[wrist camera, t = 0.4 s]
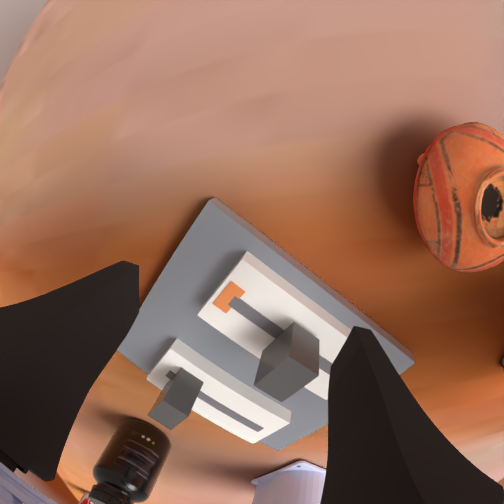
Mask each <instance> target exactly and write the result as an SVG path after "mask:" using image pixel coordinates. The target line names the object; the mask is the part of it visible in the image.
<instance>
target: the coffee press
mask: <svg viewBox="0 0 504 504" xmlns="http://www.w3.org/2000/svg"><path fill="white" fill-rule="evenodd" d="M501 367H502V369H503V371H504V356H503V358H502V359H501Z"/></svg>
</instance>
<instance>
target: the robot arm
mask: <svg viewBox="0 0 504 504" xmlns="http://www.w3.org/2000/svg"><path fill="white" fill-rule="evenodd" d="M138 314H139V266H138V265H135V264H132V263H129V262H126V261H121V262H118V263H116V264H113V265H111V266H109V267H106V268H104V269H102V270H100V271H97V272H95V273H93V274H91V275H89V276H86V277H84V278H82V279H80V280H77V281H75V282H73V283H71V284H68V285H66V286H63V287H61V288H59V289H56V290H54V291H51V292H49V293H47V294H44V295H41V296H39V297H36V298H33V299H30V300H27V301H24V302H20V303H17V304H14V305H10V306H5V307H1V308H0V504H23V503H24V504H57V503H56V502H54V501H52V500H51V499H49V498H48V497H46V496H45V495H43V494H42V493H40V492H39V491H37V490H36V489H35V488H33V487H32V486H30V485H29V484H28V483H26V482H25V481H23V480H22V479H21V478H20V477H18V476H17V475H16V474H14V471H15V469H16V468H18V469H19V470H21V471H22V472H23V473H25V474H26V473H27V472H28V470H29V471H31V472H32V473H33V474H35V475H36V476H38V477H39V478H41V479H42V480H44V481H52V480H54V478H55V474H56V471H57V467H58V464H59V461H60V457H61V454H62V451H63V448H64V446H65V443H66V440H67V438H68V435H69V432H70V430H71V428H72V425H73V423H74V421H75V419H76V416H77V414H78V412H79V410H80V408H81V406H82V404H83V402H84V400H85V398H86V396H87V394H88V392H89V390H90V388H91V387H92V385H93V383H94V382H95V380H96V379H97V377H98V376H99V374H100V373H101V372H102V370H103V369H104V367H105V366H106V364H107V363H108V362H109V360H110V359H111V357H112V356H113V355H114V353H115V352H116V350H117V349H118V347H119V346H120V345H121V343H122V342H123V340H124V339H125V337H126V336H127V334H128V333H129V331H130V329H131V327H132V325H133V323H134V321H135V319H136V317H137V316H138ZM251 483H252V484H254V485H257V486H256V490H255V494H254V499H253V503H252V504H504V490H503V487H502V486H501V485H500V484H498V483H497V482H495V481H494V480H493V479H491V478H490V477H488V476H487V475H486V474H484V473H483V472H482V471H480V470H479V469H478V468H477V467H476V466H474V465H473V464H472V463H471V462H470V461H469V460H467V459H466V458H465V457H464V456H463V455H462V454H461V453H460V452H459V451H458V450H457V449H456V448H455V447H454V446H453V445H452V444H451V443H450V442H449V441H448V440H447V438H446V437H445V436H444V435H443V434H442V433H441V432H440V431H439V430H438V428H437V427H436V426H435V425H434V423H433V422H432V421H431V420H430V418H429V417H428V416H427V415H426V413H425V412H424V411H423V409H422V408H421V407H420V405H419V404H418V402H417V401H416V400H415V398H414V397H413V395H412V394H411V392H410V391H409V389H408V388H407V386H406V385H405V383H404V382H403V380H402V379H401V377H400V375H399V374H398V372H397V371H396V369H395V367H394V366H393V364H392V363H391V361H390V359H389V358H388V356H387V354H386V353H385V351H384V349H383V348H382V346H381V345H380V343H379V341H378V340H377V338H376V337H375V335H374V334H373V332H372V331H371V329H366V328H362V327H358V326H354V327H353V328H352V330H351V332H350V334H349V336H348V337H347V339H346V341H345V343H344V345H343V346H342V348H341V350H340V352H339V353H338V355H337V357H336V358H335V360H334V362H333V364H332V365H331V368H330V377H329V387H328V461H327V468H326V469H323V468H320V467H318V466H315V465H313V464H311V463H308V462H306V461H302V460H301V461H298V462H295V463H293V464H291V465H288V466H286V467H284V468H281V469H279V470H277V471H274V472H272V473H269V474H266V475H264V476H261V477H259V478H256V479H253V480H252V481H251ZM22 502H23V503H22Z"/></svg>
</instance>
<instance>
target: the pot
mask: <svg viewBox="0 0 504 504" xmlns="http://www.w3.org/2000/svg"><path fill="white" fill-rule="evenodd" d="M417 163H418V164H419V168H418V171H417V175H416V179H415V185H414V196H413V202H414V211H415V218H416V223H417V227H418V230H419V233H420V236H421V238H422V240H423V242H424V243H425V245H426V246H427V248H428V249H429V250H430V251H431V253H432V254H433V255H434V257H435V258H436V259H437V260H438V261H439V262H441V263H442V264H443V265H445V266H446V267H448V268H450V269H453V270H455V271H459V272H477V271H483V270H486V269H489V268H491V267H494V266H496V265H497V264H499V263H501V262H502V261H504V136H503V135H501V134H500V133H499V132H498V131H496V130H495V129H493V128H491V127H489V126H487V125H484V124H482V123H478V122H469V123H464V124H461V125H458V126H454V127H451V128H449V129H447V130H445V131H443V132H442V133H440V134H439V135H438V136H437V137H436V138H435V139H434V140H433V141H432V142H431V144H430V145H429V147H428V148H427V150H426V151H425V153H423V154H421V155H420V156H419V157H418V159H417Z"/></svg>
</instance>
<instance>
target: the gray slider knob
mask: <svg viewBox="0 0 504 504" xmlns="http://www.w3.org/2000/svg"><path fill="white" fill-rule="evenodd" d="M319 341H320V340H319V339H318V338H316V337H315V336H313V335H312V334H311V333H309V332H308V331H306V330H305V329H304V328H302V327H301V326H299V325H298V324H297V323H295V322H293V323H292V324H291V325H290V326H289V327H288V328H287V329H285V330H284V331H283V332H282V333H281V334H280V335H279V336H278V337H277V338H276V339H275V340H274V341H273V342H271V343H270V344H269V345H268V346H267V347H266V348H265V349H264V350H263V351H262V354H261V358H260V362H259V366H258V370H257V373H256V377H255V381H254V385H253V386H255V387H257V388H258V389H260V390H261V391H263V392H265V393H266V394H268V395H270V396H271V397H273V398H275V399H277V400H278V401H280V402H283V401H284V400H286V399H287V398H289V397H290V396H292V395H293V394H294V393H296V392H297V391H299V390H300V389H302V388H303V387H304V386H306V385H307V384H308V383H310V382H311V381H312V380H314V379H315V378H316V377H318V376H319Z"/></svg>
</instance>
